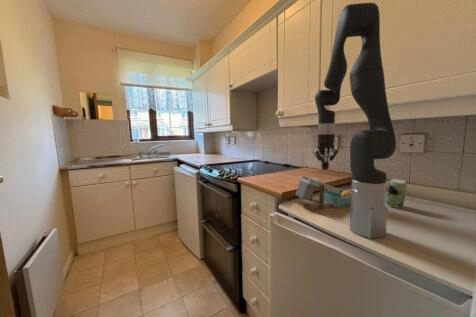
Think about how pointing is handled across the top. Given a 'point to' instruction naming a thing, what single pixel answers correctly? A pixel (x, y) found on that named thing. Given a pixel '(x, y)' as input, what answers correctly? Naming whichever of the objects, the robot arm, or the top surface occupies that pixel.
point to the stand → (316, 201)
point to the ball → (345, 194)
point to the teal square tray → (337, 198)
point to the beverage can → (396, 193)
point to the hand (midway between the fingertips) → (325, 169)
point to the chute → (311, 187)
